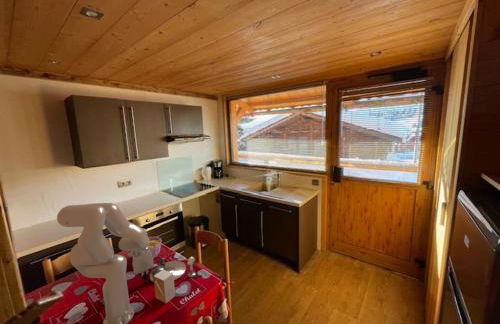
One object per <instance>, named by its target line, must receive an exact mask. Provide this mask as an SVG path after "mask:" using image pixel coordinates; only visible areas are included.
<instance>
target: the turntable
mask: <svg viewBox="0 0 500 324" xmlns="http://www.w3.org/2000/svg"><path fill="white" fill-rule="evenodd" d="M159 265H163V266H164V270H166V271H169V272H171V273H173V277H174V282H175V281H176V280H178V279H179V278H181V277H183V275H184V274H185V273H186V270H187V266H186V264H185V263H184V262H183V261H179V260H171V261H166V262H165V257H164V256H160V257H159ZM149 280H150V281H151V282H152V283H154V279H153V278H152V271H150V274H149Z"/></svg>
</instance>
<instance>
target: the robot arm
mask: <svg viewBox="0 0 500 324" xmlns="http://www.w3.org/2000/svg"><path fill="white" fill-rule="evenodd" d="M56 220H57V221H56V222H57V223H58V224H59V225H60V226H61V227H64V228H80V227H81V228H82V227H83V229H82V231H81V233H80V235H79V236H78V239H77V243H76V244H75V245H73V247H72V248H71V250H70V252H69V261H70V262H69V263H70V264H71V265H72V266H73V267H74V268H75V269H76V270H78V272H79V273H80V274H81V275H83V276H84V277H86V278H91V279H96V278H97V279H98V278H99V279H101V278H103V279H106V281H105V282H104V283H103V286H102V294H103V302H104V309H105V315H106V316H105V318H104V319H103V322H102V324H129V323H130V321H131V320H132V319H133V317H134V316H135V309H134V308H133V306H131V305H130V298H129V297H130V296H129V288H128V281H127V263H128V261H127V260H128V259H127V258H126V256H125V255H122V254H116V253H115V251H114V248H113V245H112V244H111V243H110V242H109V240H108V239H107V238H106V236H105V235H104V232H103V231H104V227H105V228H106V229H107V230H108V231H109V233H110V234H111V235H113V236H116V237H119V238H120V240H119V241H118V249H119V250H120V251H130V252H131V250H133V252H131V253H130V254H131V255H132V270H133V273H132V274H133V276H138V275H140V278H141V281H142V282H143V283H144V282H147V281H148V276H149V271H150V270H152V268H153V267H155V266H154V263H155V262H154V259H153V257H152V253H151V251H150V250H149V247H148V245H149V238H148V237H149V235H148V231H147V229H146V228H143V227H140V226H139V225H137V224H135V223H133V222H130V221H129V219H127V217H126V216H125V215H124V213H123V212H122V210H121V209H120V208H119V206H118V205H117V204H115V203H113V202H100V203H87V204H86V203H84V204H72V205H66V206H64V207H63V208H61V209H60V210H59V211H58V213H57V216H56ZM133 254H134V255H133Z"/></svg>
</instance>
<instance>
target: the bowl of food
mask: <svg viewBox="0 0 500 324" xmlns="http://www.w3.org/2000/svg"><path fill="white" fill-rule="evenodd" d="M148 238H149V245H148V247H149V250H150V251H151V253H152V257H153V260H155V258H156V257H157V256H158V255H159V253H160V251H161V247H162V238H161V237H159V236H148ZM130 252H133V250H130ZM133 255H134V254H133ZM133 255H132V256H133Z"/></svg>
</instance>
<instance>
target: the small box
mask: <svg viewBox="0 0 500 324" xmlns="http://www.w3.org/2000/svg"><path fill="white" fill-rule="evenodd" d="M153 284H154V293H155V299H157V300H158V301H161V302H162V303H164V304H167V303H168V302H170V301H171V300H172V299H173V298H174V297H175V296H176V287H175V281H174V277H173V273H171V272H169V271H166V270H162V271H160V272H159V273H157V274H156V275H154V282H153Z"/></svg>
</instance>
